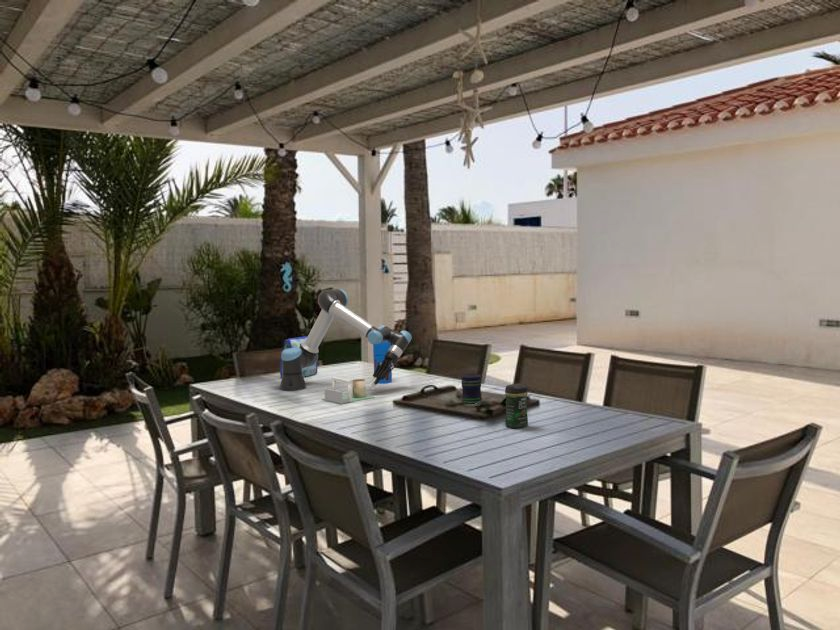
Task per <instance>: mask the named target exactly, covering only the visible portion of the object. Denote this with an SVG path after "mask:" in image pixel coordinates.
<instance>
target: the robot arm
mask: <svg viewBox="0 0 840 630" xmlns="http://www.w3.org/2000/svg"><path fill="white" fill-rule="evenodd" d="M317 303H318V305H319V307H320V309H321V310H320V312H319V315H318V316H317V318H316V320H315V322H314V324H313V326H312V328H311V329H310V332H309V334H308V335H307V336H308V337H307V339H306V341H305V342H302V343H301V345H300V347H299V348H289V349H285V350H283V349H282V350H283V351H282V350H281V355H282V356H280V360H281V359H282V378H281V380H280V384H279V390H281V389H282V390H281V391H299V390H298V389H300V390H304V389H306V388H307V384H306V381H305V377H303V375H302V368H305V367H310V366H312V365H314V364H315V363H316V362H317V363H318V359H319V346H320V345H321V343H322V341H323V340H324V337H325V335H326V333H327V331H328V329H329V328H330V326H331V324H332V322H333V321H334V318H335V317H336V318H337V319H339V320H340V321H342V322H343V323H344V324H346V325H347V326H349V327H351V328H352V329H354V330H355V331H357V332H358V333H359V334H360V335H362V336H364V337H365V338H367V341H368V342H369V343H370V344H372V345H373V344H379V343H382V342H386V341H387V342H389V343H391V347H390V348H389V350H388V352H387V353H386V354H385V356H384V360H383V361H382V362H381V363H379V362H378V365H377V367H376V369H375V372H374V371H373V374H372V377H373V379H372V380H371V382H370V383H369V385H368V389H370V390H371V391H373V390H374V389H375V388H376V386H377V385H378V382H379V381H380V380H383V379H384V378H385V377H386V376H387V375H388V374H389V373H390V371H391V370H394V369H395V366H394V365H395V364H396V363H397V362H398V360H399V359H400V357H401V356H402V354H403V353H404V352H405V350H406V349H407V347H408V345H409V344H410V342H411V340H412V338H413V337H412V334H411V333H410V332H409V331H407V330H401V331H400V332H399V331H396V330H394V329H393V328H390V327H388V326H386V325H384V324H381V325H380V326H379V327H378V328H377V327H376V326H374V325H373V324H371V323H370V322H368V321H367V320H366V319H364V318H363V317H361V316H360V315H358V314H357V313H355V312H354V311H352V310H351V309H350V308H348V307H347V305H348V303H349V296H348V294H347V292H346V291H345V290H343V289H342V288H341V289H340V288H334V289H324V290H322V291H321V292H320V293H319V295H318V296H317ZM303 388H304V389H303Z"/></svg>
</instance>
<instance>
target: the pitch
mask: <svg viewBox="0 0 840 630" xmlns="http://www.w3.org/2000/svg"><path fill="white" fill-rule="evenodd" d="M351 395H352V402H347V403H346V404H349V403H355V402H359V401H365V400H369V399H375V396H370V395H367V394H366V397H364V398H353V392H351ZM346 398H348V393H347V394H343V399H346ZM321 401H326V402H329V403H330V402H331V403H333V404H338V405H343V404H345V403H343V404H341V403H337V402H333V401H329V400H325V397H324V398H321Z"/></svg>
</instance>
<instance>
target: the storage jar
mask: <svg viewBox="0 0 840 630" xmlns="http://www.w3.org/2000/svg"><path fill="white" fill-rule="evenodd" d="M481 387H482V375H481V374H478V373H467V374H461V389H462V392H461V393H462V394H461V403H462V402H463V403H465V404H475V403H477V402H479V401H481V402H482V399H483V397H482V391H481V389H482V388H481ZM463 403H462V404H463Z"/></svg>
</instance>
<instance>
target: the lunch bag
mask: <svg viewBox="0 0 840 630" xmlns="http://www.w3.org/2000/svg"><path fill="white" fill-rule="evenodd" d="M307 337H308V335H304V336H299V337H292V338H291V337H290V338H289V337H288V339H285V340H284V342H283V346H282V350H281V352H282V351H283V350H285V349H289V348H299V347H300V345H301V343H302V342H305V341H306V339H307ZM280 355H281V356H282V354H280ZM281 356H280V357H281ZM279 373H280V375H279V377H280V378H281V379H282V359H281V358H280V362H279ZM317 373H318V361H317V362H316V363H315V364H314V365H312V366H310V367H305V368H302V375H303V378H305V376H306V377H310V375H311V376H314V374H315V375H317Z"/></svg>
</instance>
